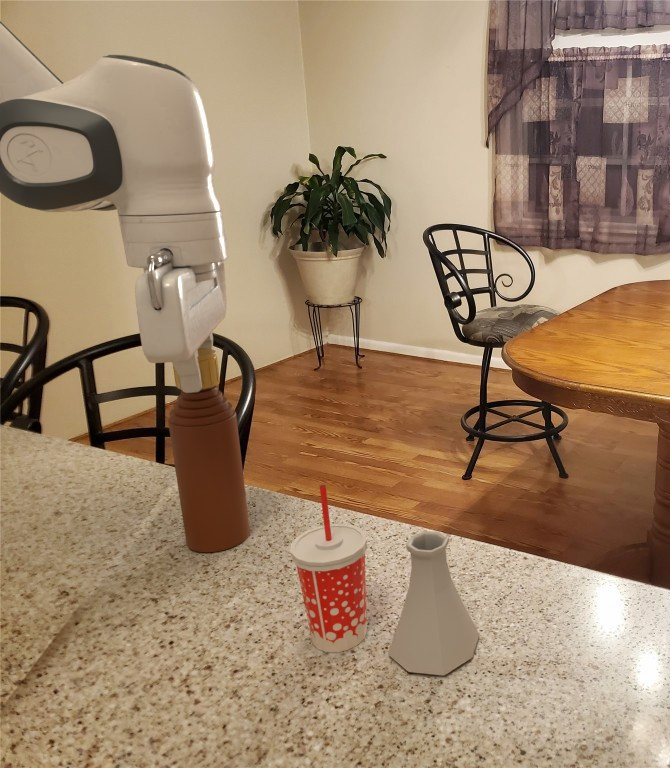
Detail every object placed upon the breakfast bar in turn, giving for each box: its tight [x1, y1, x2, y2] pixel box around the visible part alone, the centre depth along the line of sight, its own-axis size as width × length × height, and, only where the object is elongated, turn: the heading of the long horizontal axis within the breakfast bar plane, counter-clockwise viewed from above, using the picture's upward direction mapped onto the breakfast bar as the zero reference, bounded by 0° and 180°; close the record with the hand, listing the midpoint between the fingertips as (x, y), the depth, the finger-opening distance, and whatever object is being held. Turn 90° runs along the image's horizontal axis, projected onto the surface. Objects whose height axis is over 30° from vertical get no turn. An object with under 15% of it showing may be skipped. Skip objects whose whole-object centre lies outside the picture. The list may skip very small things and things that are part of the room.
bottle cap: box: [172, 348, 220, 391], centre depth 69 cm, size 4×4×3 cm
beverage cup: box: [290, 484, 368, 653], centre depth 57 cm, size 6×6×14 cm
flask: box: [387, 530, 480, 676], centre depth 55 cm, size 7×7×10 cm
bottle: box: [167, 385, 251, 553], centre depth 72 cm, size 6×6×20 cm
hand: (199, 382), depth 69 cm, fingers closed on bottle cap, 4 cm apart
